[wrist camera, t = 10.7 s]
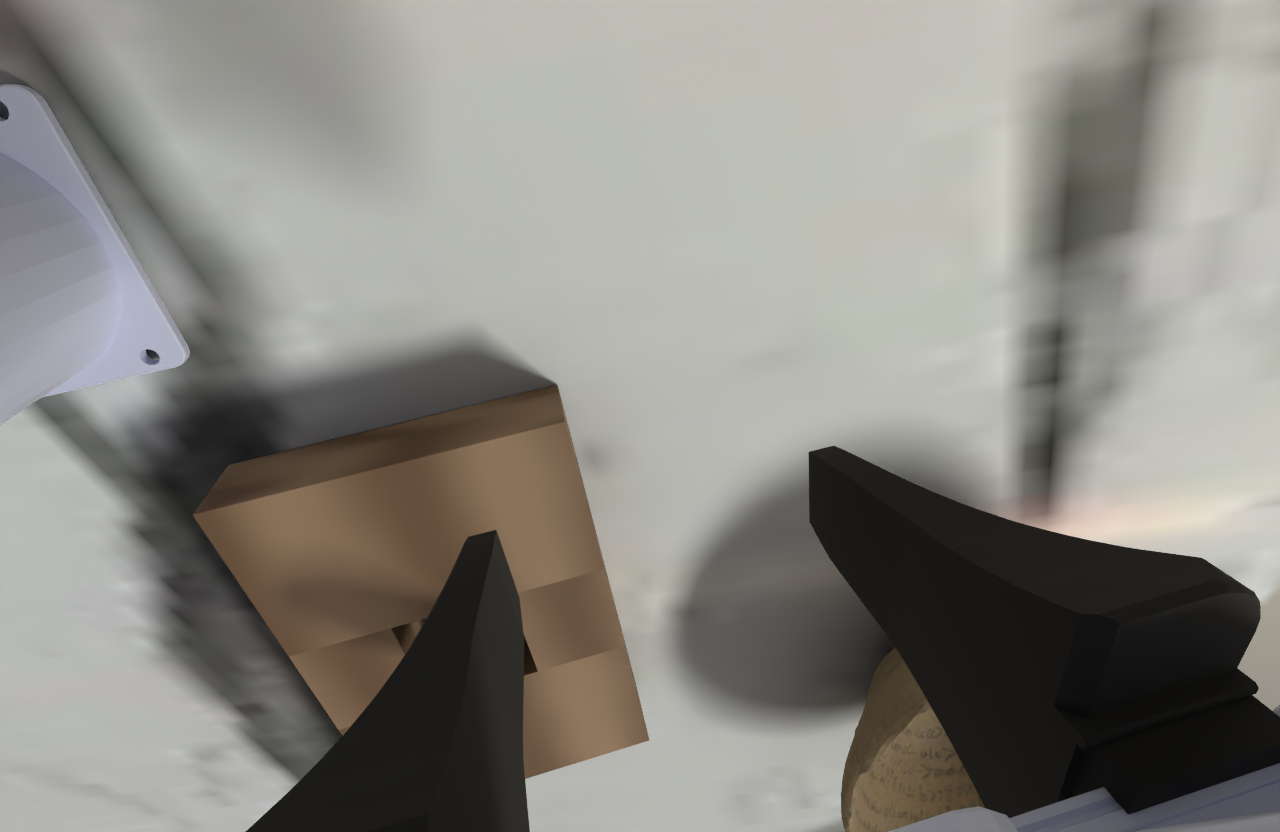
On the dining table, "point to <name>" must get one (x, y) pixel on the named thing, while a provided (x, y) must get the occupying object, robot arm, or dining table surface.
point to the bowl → (900, 758)
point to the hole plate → (434, 562)
